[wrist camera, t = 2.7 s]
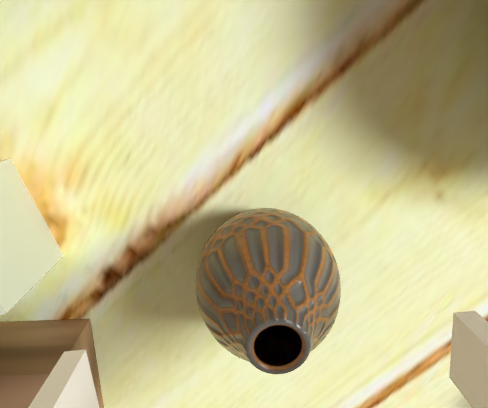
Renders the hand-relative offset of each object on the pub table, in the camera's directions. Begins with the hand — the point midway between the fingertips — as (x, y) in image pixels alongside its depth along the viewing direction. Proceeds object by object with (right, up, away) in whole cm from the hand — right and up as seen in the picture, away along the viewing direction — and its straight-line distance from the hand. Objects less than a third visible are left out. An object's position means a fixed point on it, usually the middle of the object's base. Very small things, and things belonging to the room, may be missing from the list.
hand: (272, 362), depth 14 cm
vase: (0, +3, +9) cm, 9 cm away
